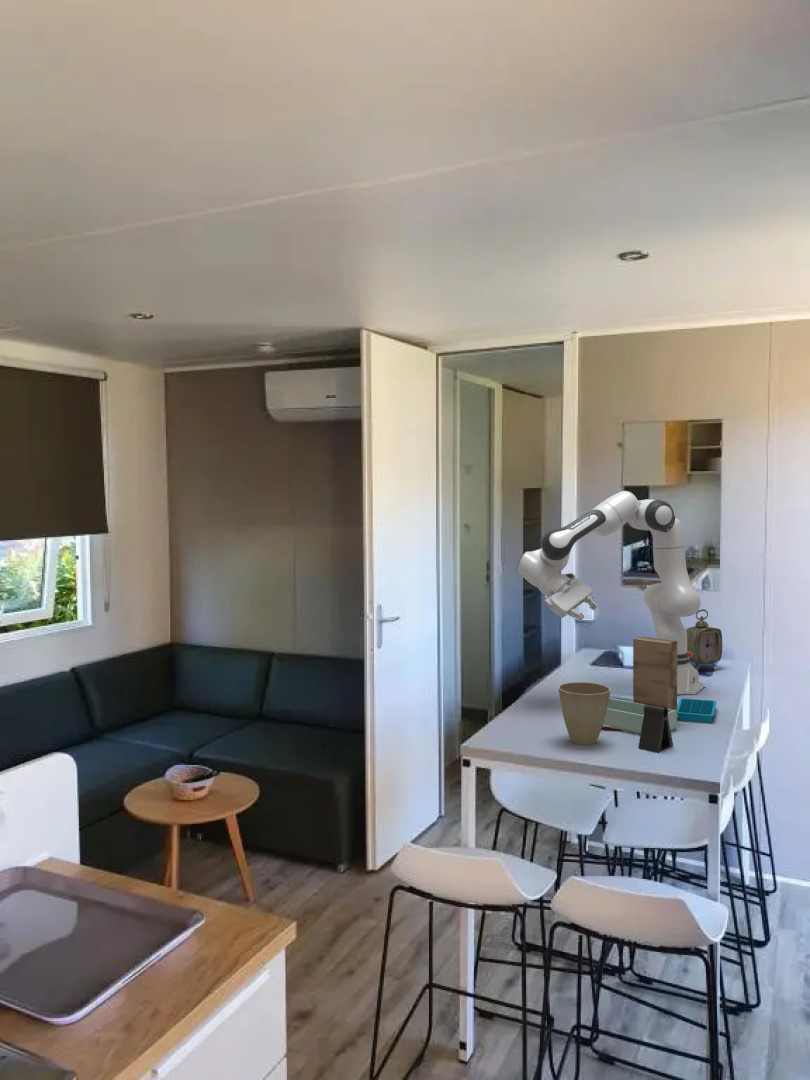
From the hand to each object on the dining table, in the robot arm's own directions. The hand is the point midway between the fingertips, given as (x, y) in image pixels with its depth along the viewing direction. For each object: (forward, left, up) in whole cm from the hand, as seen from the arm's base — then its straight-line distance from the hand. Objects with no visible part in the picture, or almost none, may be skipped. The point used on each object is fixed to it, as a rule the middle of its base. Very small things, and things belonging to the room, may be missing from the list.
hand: (589, 613), depth 279 cm
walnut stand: (-2, +23, -33) cm, 40 cm away
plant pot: (+32, +19, -33) cm, 50 cm away
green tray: (+9, +19, -33) cm, 39 cm away
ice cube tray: (-18, +29, -33) cm, 48 cm away
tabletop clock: (-83, -1, -33) cm, 89 cm away
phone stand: (+23, +37, -33) cm, 55 cm away
